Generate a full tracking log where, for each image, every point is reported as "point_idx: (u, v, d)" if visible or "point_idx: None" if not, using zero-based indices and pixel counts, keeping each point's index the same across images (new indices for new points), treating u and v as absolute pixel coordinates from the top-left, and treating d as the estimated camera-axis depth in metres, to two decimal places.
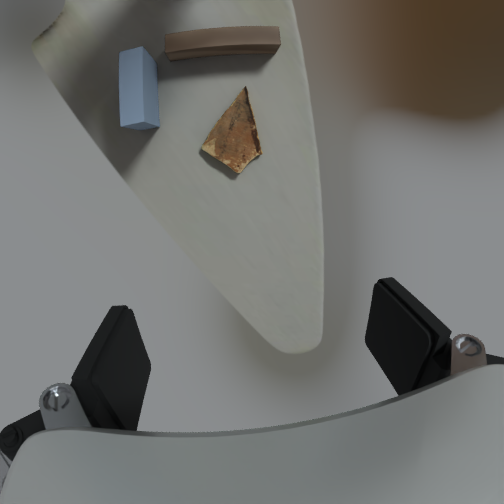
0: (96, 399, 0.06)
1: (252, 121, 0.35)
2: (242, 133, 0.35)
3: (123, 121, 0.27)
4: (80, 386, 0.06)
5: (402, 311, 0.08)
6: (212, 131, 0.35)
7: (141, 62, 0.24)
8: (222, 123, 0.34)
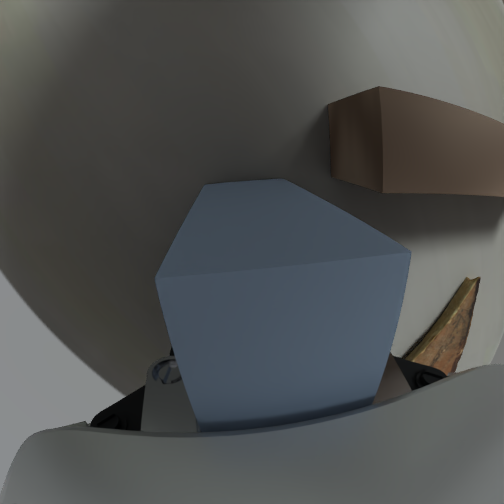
0: None
1: (463, 343, 0.14)
2: (442, 368, 0.15)
3: None
4: None
5: None
6: None
7: (373, 385, 0.04)
8: (422, 360, 0.14)
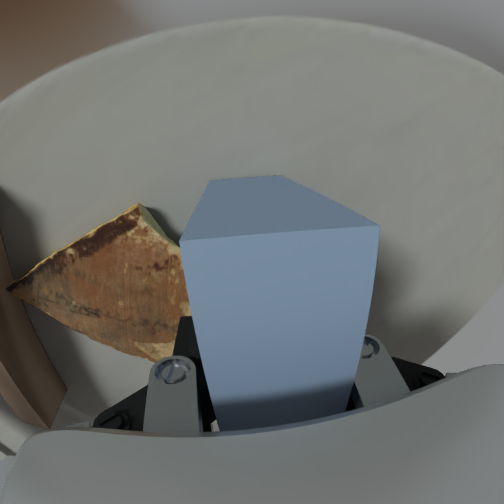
0: None
1: (59, 259, 0.10)
2: (97, 281, 0.11)
3: None
4: (195, 356, 0.07)
5: None
6: (121, 349, 0.13)
7: (357, 346, 0.05)
8: (93, 331, 0.12)
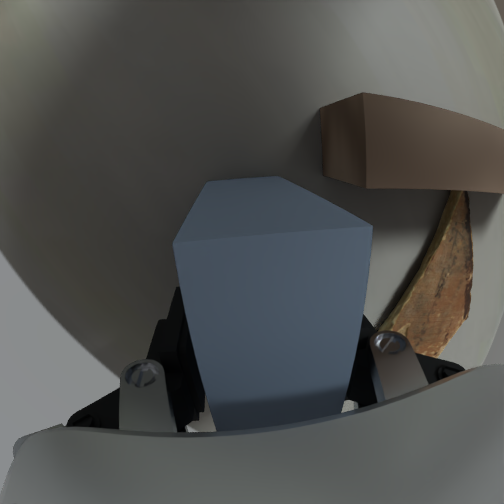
0: (179, 372, 0.07)
1: (470, 266, 0.13)
2: (453, 298, 0.14)
3: None
4: (165, 360, 0.07)
5: None
6: (404, 310, 0.13)
7: (352, 346, 0.05)
8: (425, 287, 0.13)
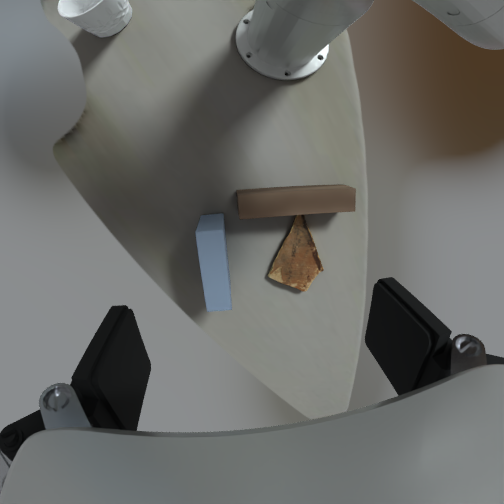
0: (96, 399, 0.06)
1: (312, 243, 0.39)
2: (304, 258, 0.39)
3: (210, 307, 0.33)
4: (80, 386, 0.06)
5: (402, 311, 0.08)
6: (276, 260, 0.39)
7: (224, 250, 0.30)
8: (284, 251, 0.39)
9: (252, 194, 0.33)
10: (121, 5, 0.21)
